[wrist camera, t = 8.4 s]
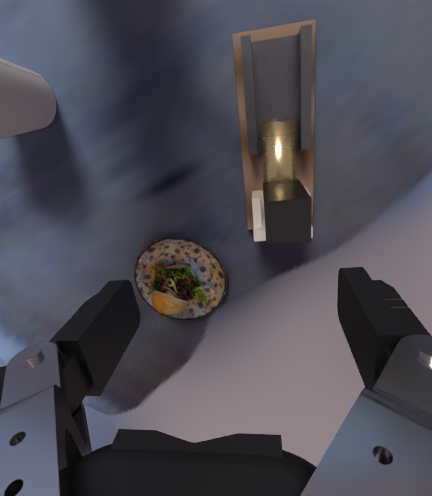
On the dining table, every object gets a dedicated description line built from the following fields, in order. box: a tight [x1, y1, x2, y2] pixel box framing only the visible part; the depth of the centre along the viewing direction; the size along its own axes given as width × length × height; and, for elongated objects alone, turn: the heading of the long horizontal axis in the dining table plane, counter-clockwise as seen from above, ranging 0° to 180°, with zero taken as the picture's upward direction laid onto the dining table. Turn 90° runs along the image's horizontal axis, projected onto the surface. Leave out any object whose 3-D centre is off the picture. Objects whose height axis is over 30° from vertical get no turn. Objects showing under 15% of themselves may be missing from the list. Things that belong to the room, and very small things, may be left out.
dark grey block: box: [261, 120, 312, 244], centre depth 25 cm, size 9×3×10 cm, turn 7°
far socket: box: [252, 186, 313, 241], centre depth 29 cm, size 4×5×5 cm
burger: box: [134, 239, 228, 327], centre depth 35 cm, size 12×12×8 cm
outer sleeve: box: [240, 24, 312, 155], centre depth 26 cm, size 9×5×3 cm, turn 7°
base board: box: [233, 20, 315, 230], centre depth 29 cm, size 18×7×1 cm, turn 7°
